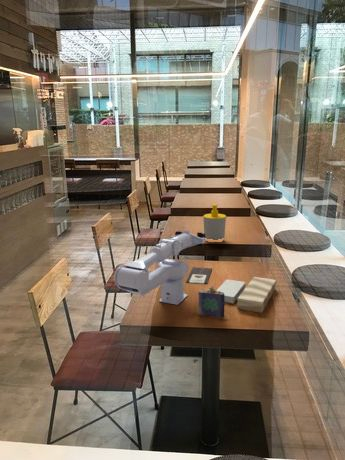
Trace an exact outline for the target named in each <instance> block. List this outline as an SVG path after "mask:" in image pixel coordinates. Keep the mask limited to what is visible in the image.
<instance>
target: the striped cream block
mask: <svg viewBox="0 0 345 460" xmlns="http://www.w3.org/2000/svg"><path fill="white" fill-rule="evenodd" d="M276 285H277V280H276V279H271V278H265V277H258V276H253V277H252V278H251V279H250V281H249V282H248V284H247V285H245V289H244V290H243V292H242V293H241V294H240V296H239V297H238V298H237V306H236V307H237V309H238V310H245V311H248V312H249V311H250V312H255V313H260V314H262V313H263V311H264V310H265V308H266V307H267V305H268V303H269V301H270V300H271V298H272V296H273V294H274V292H275V291H276V288H277V287H276Z"/></svg>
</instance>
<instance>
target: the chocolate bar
mask: <svg viewBox="0 0 345 460" xmlns="http://www.w3.org/2000/svg"><path fill="white" fill-rule="evenodd" d="M212 270H213V268H212V267H211V268H210V267H208V268H207V267H194V266H193V267H191V270H190V272H189V274H188V277H187V279H186V281H185V283H186V284H198V283H199V284H200V285H201V284H202V285H207V284H208V283H209V279H210V276H211V275H212V274H211V273H212ZM199 284H198V285H199Z"/></svg>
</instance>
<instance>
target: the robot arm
mask: <svg viewBox="0 0 345 460" xmlns="http://www.w3.org/2000/svg"><path fill="white" fill-rule="evenodd" d="M196 234H197V235H195V234H193V233H191V232H190V231H189V230H188V229H184V230H183V232H182V231H178V230H177V231H175V233H174V235H171V236H170V238H161V239H160V241H158V243H157V244H155V246H154V247H152V248H151V249H150V251H149V253H148V254H146V255H145V256H142V257H140V258H137V259H135V260H134V261H133V260H132V261H130V262H126V263H124V264H123V266H118V267H117V268H116V270H115V272H114V275H113V281H114V284H115V285H116V286H117V288H118V289H120V290H123V291H127V292H129V293H132V294H134V295H138V296H142V297H143V296H145V295H147V294H149V293H150V292H152V291H153V290H156V288H158V287H160V299H159V300H158V301H159V302H161V303H166V304H170V305H171V304H172V305H175V306H176V305H177V306H178V305H179V304H180V303H181V302H182V301H183V300H185V299H186V298H187V297H188V294H187V293H185V291H184V289H185V288H184V282H185V281H184V278H185V277H186V276H187V274H188V271H189V264H188V262H187V261H184V260H177V259H171V258H170V257H171V256H174V257H175V256H176V257H177V256H178V255H179V254H180V252H181V251H183V250H185V249H187V248H191V247H194V246H197V247H200V248H201V247H203V246H204V243H205V242H206V241H205V234H204V232H196ZM155 263H156V264H157V268H156V269H154V270H153V271H151V272H149V268H151V267H152V266H153V265H154V264H155Z"/></svg>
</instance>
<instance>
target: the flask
mask: <svg viewBox="0 0 345 460" xmlns="http://www.w3.org/2000/svg"><path fill="white" fill-rule="evenodd" d="M197 294H198V315H199V316H201V315H202V317H208V316H211V317H213V318H217V317H218V318H219V319H224V318H225V302H224V300H225V299H224V293H223V292H220V291H219V292H218V291H216V289H214V286H210V287H208V289H206V290H205V289H200V290H198V293H197ZM211 317H210V318H211ZM223 317H224V318H223Z"/></svg>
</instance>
